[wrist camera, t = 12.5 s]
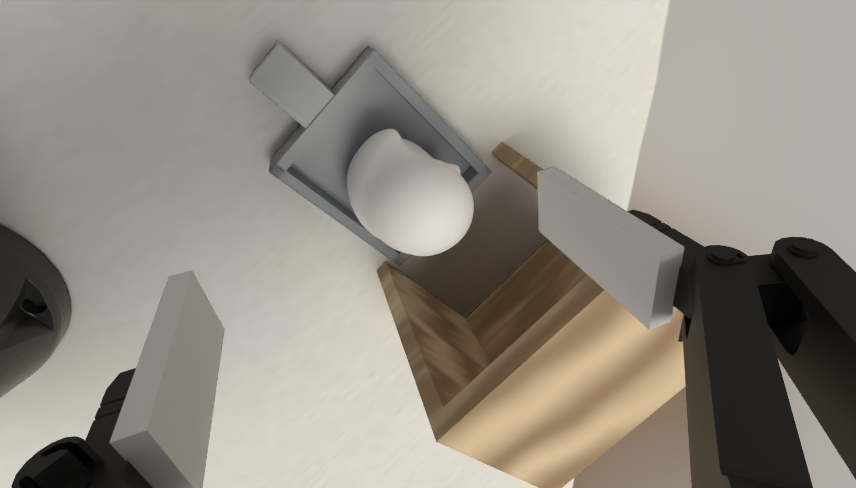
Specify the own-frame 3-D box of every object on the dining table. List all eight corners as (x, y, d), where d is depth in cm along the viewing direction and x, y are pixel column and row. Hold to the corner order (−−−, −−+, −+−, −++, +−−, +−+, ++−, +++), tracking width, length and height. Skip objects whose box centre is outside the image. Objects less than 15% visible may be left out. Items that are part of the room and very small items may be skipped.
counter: (376, 270, 41) (436, 441, 25) (501, 141, 38) (654, 244, 22) (464, 330, 47) (553, 494, 32) (575, 225, 45) (731, 348, 29)
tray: (214, 119, 31) (209, 129, 28) (317, -8, 29) (320, -7, 27) (392, 250, 40) (399, 265, 38) (479, 161, 38) (491, 171, 36)
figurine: (449, 149, 36) (514, 210, 26) (401, 225, 38) (445, 309, 28) (373, 104, 32) (415, 155, 22) (325, 191, 35) (344, 272, 25)
